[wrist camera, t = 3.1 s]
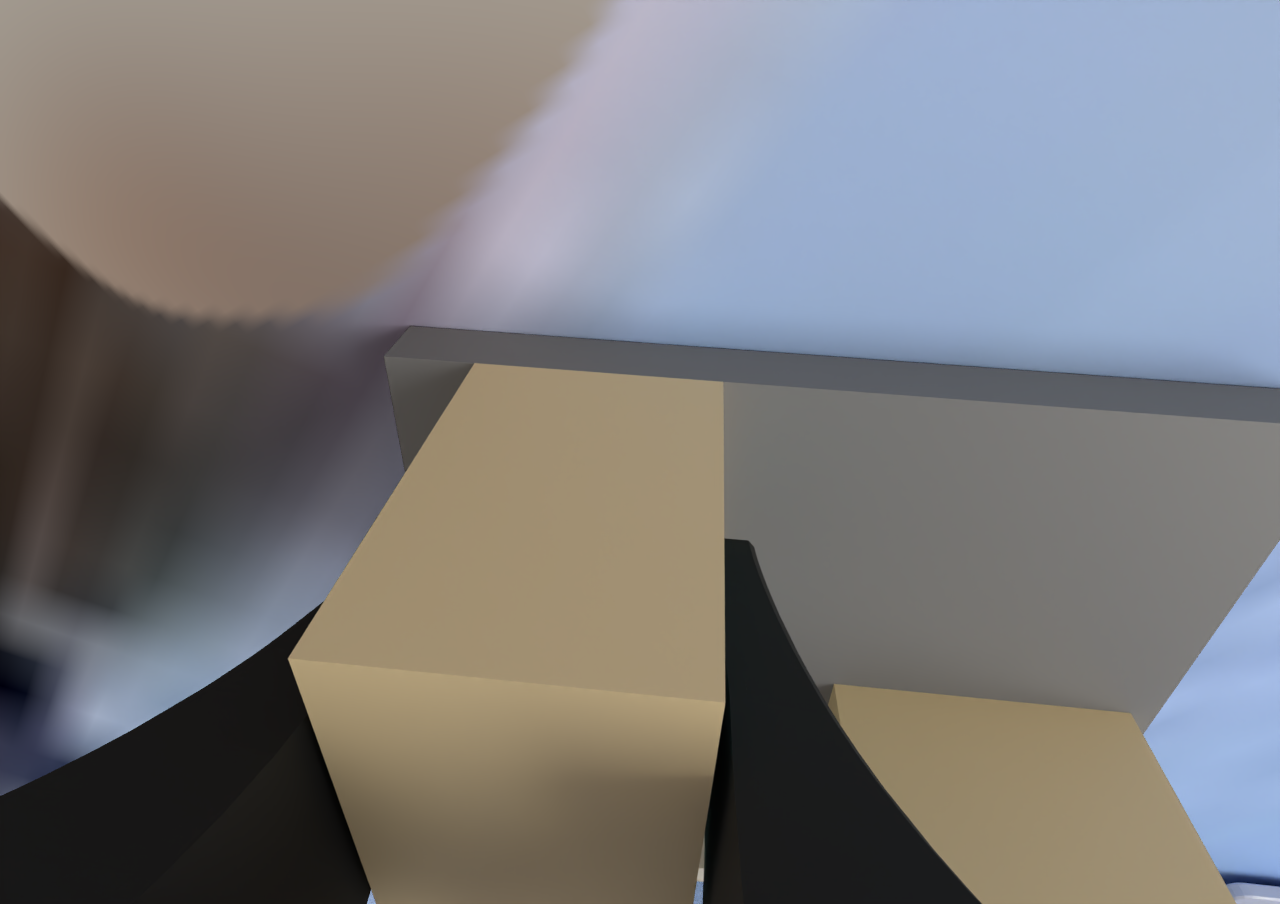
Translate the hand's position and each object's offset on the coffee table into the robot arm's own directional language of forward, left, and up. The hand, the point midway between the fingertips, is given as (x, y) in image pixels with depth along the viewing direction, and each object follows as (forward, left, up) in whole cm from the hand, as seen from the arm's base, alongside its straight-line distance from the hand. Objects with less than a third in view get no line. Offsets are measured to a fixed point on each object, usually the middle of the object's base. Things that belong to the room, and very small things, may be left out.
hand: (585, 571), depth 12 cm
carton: (0, 0, -1) cm, 1 cm away
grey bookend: (-3, -4, -3) cm, 6 cm away
